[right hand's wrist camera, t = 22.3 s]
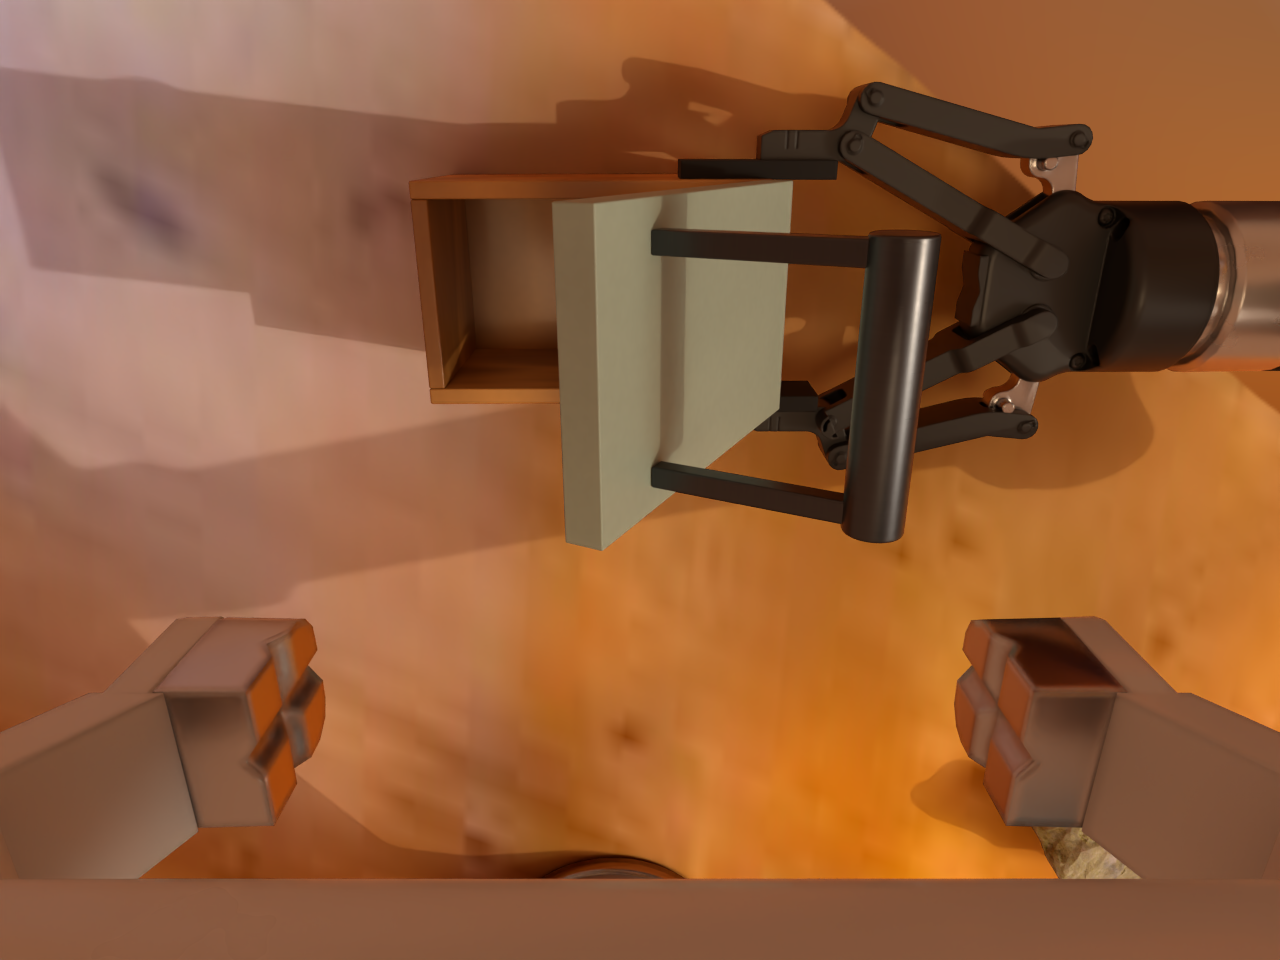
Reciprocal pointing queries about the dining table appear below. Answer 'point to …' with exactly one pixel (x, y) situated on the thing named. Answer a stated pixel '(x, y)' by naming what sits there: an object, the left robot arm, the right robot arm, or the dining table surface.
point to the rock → (1079, 855)
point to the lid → (722, 354)
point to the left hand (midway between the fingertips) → (677, 288)
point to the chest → (500, 277)
